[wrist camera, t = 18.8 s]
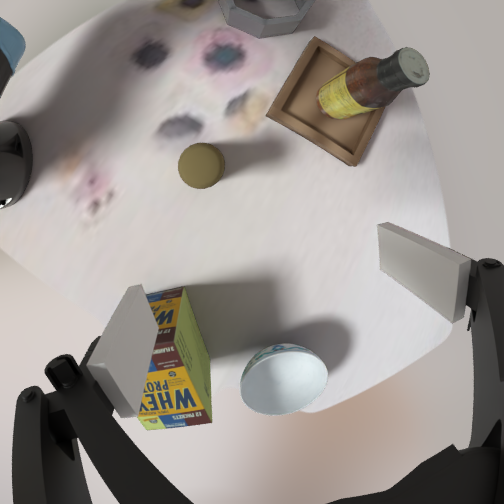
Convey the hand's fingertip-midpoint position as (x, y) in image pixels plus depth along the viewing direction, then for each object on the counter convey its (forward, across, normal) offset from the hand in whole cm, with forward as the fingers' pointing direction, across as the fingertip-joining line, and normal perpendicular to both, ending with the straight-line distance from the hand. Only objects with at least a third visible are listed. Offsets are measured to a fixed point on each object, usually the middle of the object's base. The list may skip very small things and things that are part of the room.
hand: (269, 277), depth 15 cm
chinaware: (+29, +1, -30) cm, 41 cm away
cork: (+29, -3, +6) cm, 30 cm away
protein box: (+29, -15, -18) cm, 38 cm away
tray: (+29, +18, +12) cm, 36 cm away
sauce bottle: (+28, +18, +12) cm, 35 cm away
